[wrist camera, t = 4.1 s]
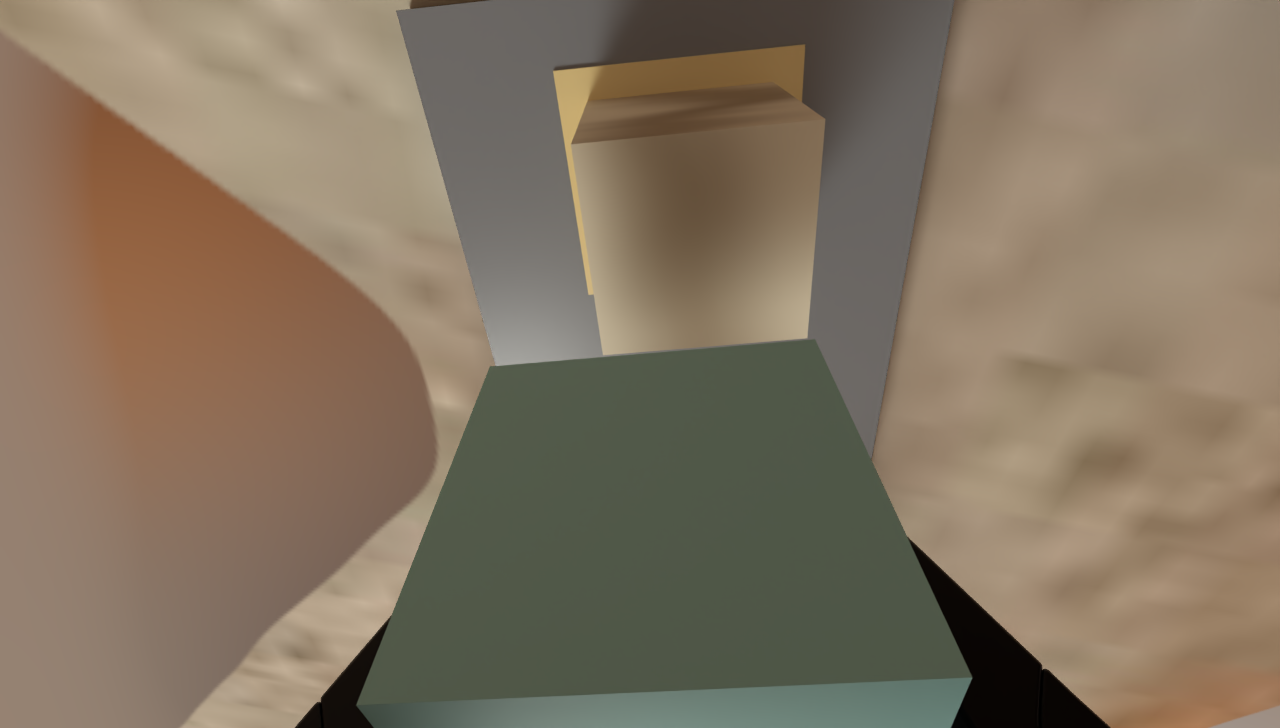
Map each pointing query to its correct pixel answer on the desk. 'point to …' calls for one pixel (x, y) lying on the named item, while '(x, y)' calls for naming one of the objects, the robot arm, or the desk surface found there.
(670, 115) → the maple block
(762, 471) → the teal block
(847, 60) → the grey flat plate
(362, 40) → the desk surface
